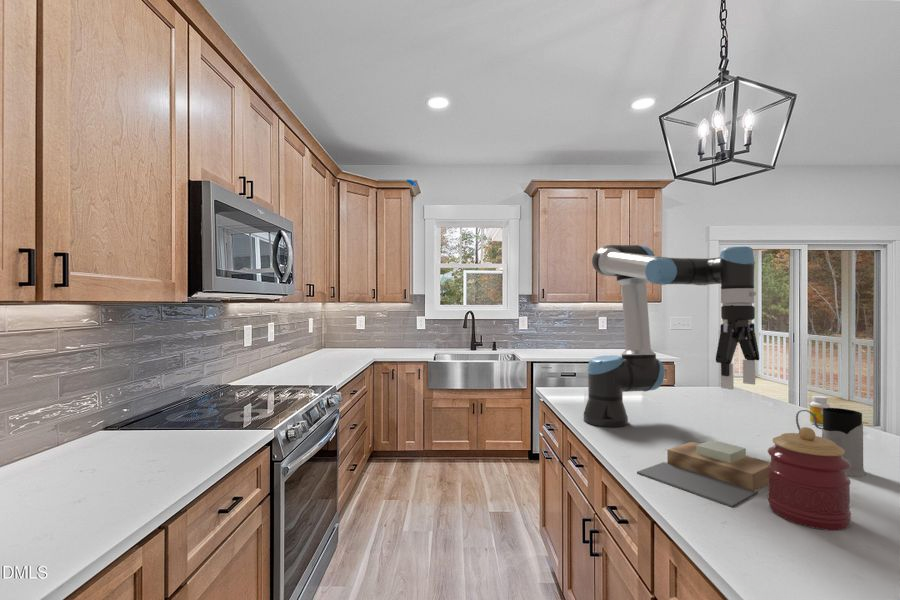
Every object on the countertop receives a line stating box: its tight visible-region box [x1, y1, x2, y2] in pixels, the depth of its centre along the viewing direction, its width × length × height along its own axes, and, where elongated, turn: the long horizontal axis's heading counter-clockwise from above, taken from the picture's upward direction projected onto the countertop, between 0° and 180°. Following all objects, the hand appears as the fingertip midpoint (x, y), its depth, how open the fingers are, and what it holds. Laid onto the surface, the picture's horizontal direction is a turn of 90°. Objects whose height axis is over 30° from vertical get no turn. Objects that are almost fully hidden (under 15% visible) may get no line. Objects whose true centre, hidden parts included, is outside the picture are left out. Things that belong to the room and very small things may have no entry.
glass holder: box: [795, 407, 867, 478], centre depth 115 cm, size 9×14×15 cm, turn 32°
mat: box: [636, 461, 759, 508], centre depth 104 cm, size 22×12×1 cm, turn 33°
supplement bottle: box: [809, 395, 831, 427], centre depth 154 cm, size 5×5×10 cm
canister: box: [767, 426, 852, 531], centre depth 88 cm, size 13×13×18 cm
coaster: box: [697, 439, 747, 463], centre depth 111 cm, size 8×8×2 cm
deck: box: [666, 441, 771, 491], centre depth 111 cm, size 20×12×4 cm, turn 33°
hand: (738, 386), depth 117 cm, fingers open, 12 cm apart
